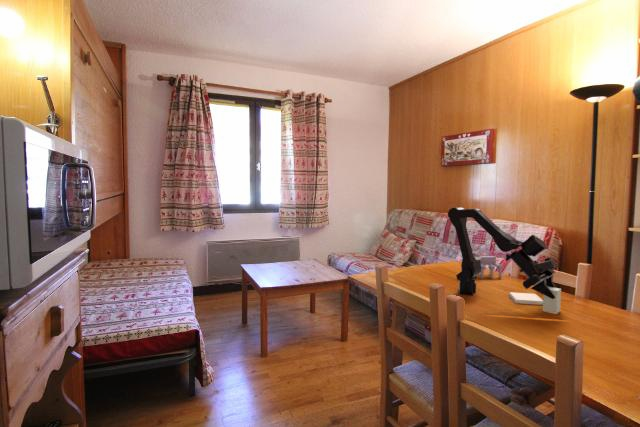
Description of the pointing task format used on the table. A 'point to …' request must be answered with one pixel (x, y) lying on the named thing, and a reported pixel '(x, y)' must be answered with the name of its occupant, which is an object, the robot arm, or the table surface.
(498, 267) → the toy sheep
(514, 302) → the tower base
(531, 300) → the tower top
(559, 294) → the block
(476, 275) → the robot arm
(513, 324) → the table surface
